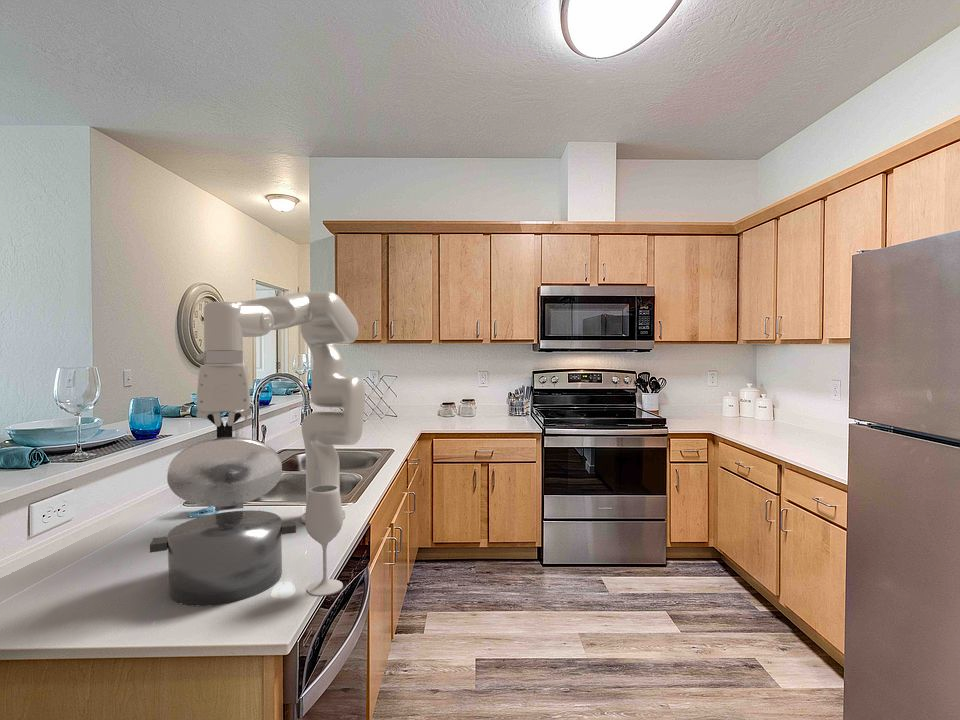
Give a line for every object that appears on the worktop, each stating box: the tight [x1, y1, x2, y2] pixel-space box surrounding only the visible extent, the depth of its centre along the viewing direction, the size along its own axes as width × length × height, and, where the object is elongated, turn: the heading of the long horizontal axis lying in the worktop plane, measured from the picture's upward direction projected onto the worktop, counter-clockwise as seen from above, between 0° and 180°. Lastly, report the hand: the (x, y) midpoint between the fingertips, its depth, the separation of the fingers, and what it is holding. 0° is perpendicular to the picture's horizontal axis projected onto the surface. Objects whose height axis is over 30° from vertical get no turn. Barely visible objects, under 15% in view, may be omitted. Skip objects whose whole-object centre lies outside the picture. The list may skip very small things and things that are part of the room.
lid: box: [166, 436, 283, 512], centre depth 118 cm, size 25×23×4 cm
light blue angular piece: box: [187, 506, 219, 518], centre depth 161 cm, size 8×8×12 cm
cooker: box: [149, 510, 297, 607], centre depth 114 cm, size 22×28×12 cm
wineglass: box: [304, 485, 344, 597], centre depth 110 cm, size 8×8×21 cm
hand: (224, 443), depth 113 cm, fingers closed
